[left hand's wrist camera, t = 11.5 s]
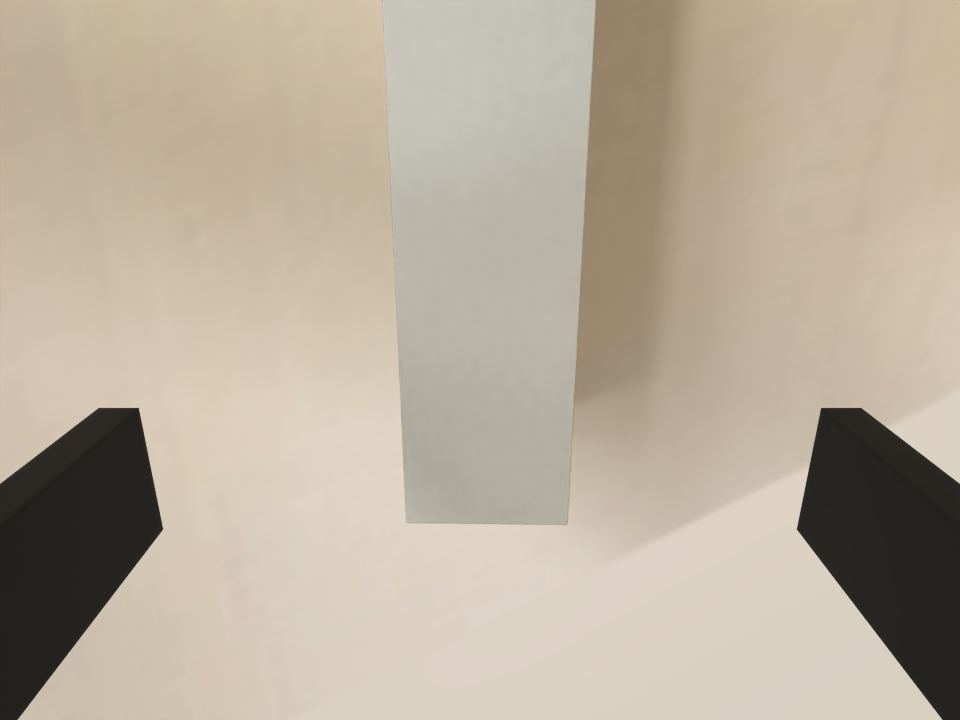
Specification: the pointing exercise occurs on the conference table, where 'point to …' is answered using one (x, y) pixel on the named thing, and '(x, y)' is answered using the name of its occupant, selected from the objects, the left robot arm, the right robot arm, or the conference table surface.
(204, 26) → the conference table surface
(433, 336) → the bar
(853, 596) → the left robot arm
